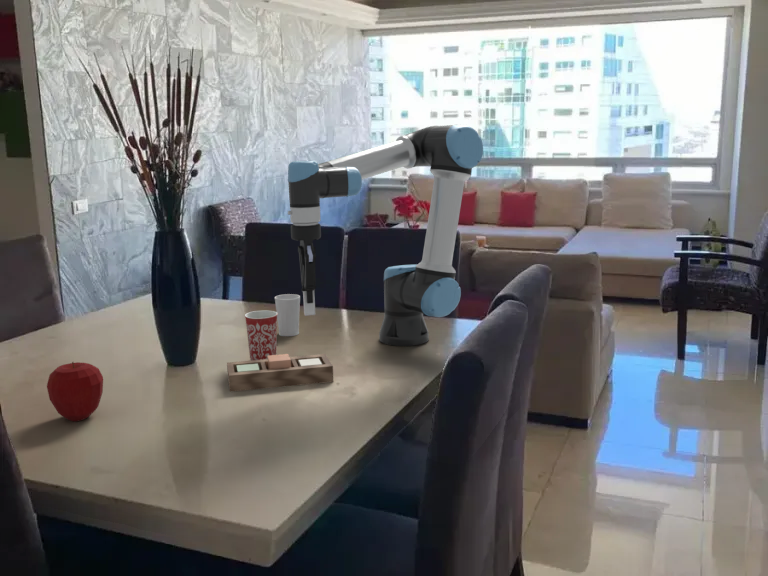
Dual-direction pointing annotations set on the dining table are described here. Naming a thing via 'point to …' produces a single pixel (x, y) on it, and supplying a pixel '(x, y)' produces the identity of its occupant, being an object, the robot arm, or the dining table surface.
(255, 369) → the key sage
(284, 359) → the key terracotta
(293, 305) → the cup
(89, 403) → the apple
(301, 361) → the key ivory
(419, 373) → the dining table surface
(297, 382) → the wooden compartment tray
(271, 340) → the mug
